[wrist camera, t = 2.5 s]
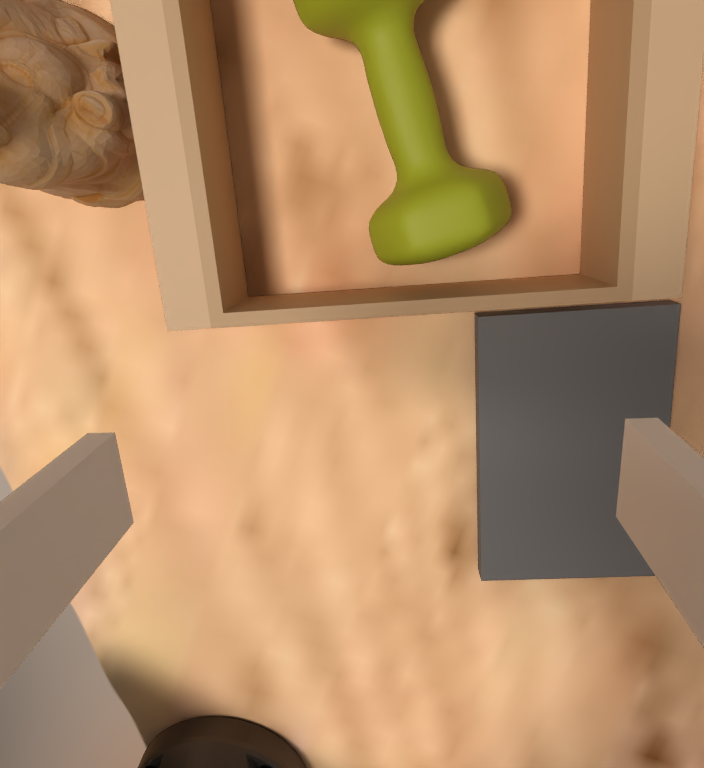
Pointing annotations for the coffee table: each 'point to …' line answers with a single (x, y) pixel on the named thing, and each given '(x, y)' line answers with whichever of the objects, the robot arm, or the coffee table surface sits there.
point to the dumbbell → (412, 138)
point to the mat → (564, 433)
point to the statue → (64, 105)
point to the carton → (593, 285)
